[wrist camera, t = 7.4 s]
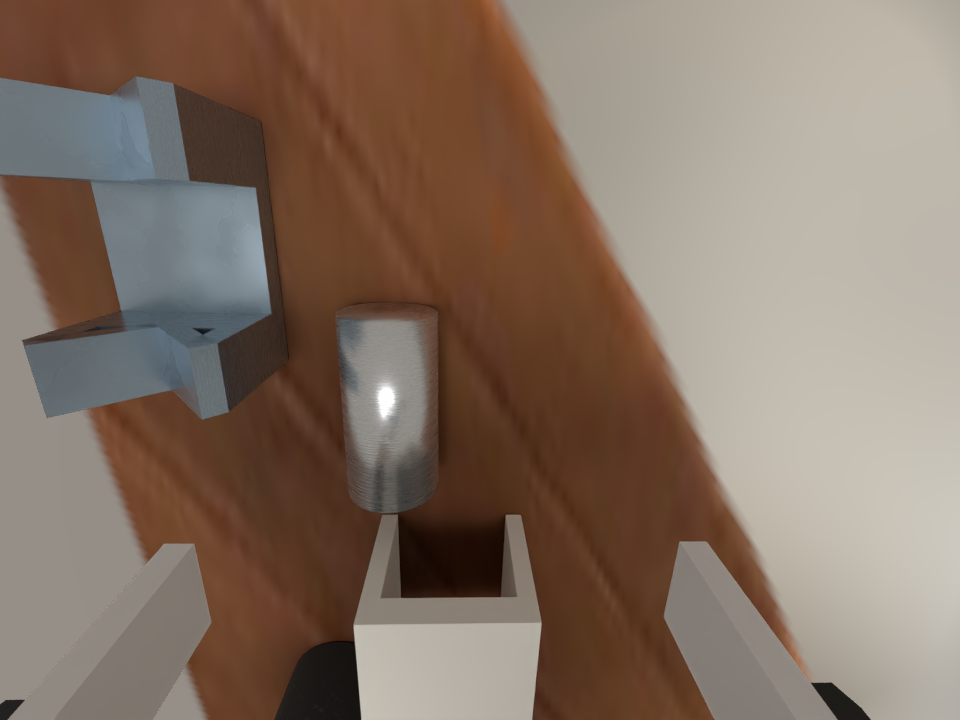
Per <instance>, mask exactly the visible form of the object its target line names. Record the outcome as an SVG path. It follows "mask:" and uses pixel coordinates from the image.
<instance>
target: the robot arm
mask: <svg viewBox="0 0 960 720" xmlns="http://www.w3.org/2000/svg"><path fill="white" fill-rule="evenodd" d="M664 619H665V621H666V623H667V625H668V627H669V629H670V631H671V633H672V635H673V637H674V639H675V641H676V643H677V645H678V647H679V649H680V651H681V653H682V655H683V657H684V659H685V661H686V663H687V665H688V668H689V670H690V672H691V674H692V676H693V678H694V680H695V682H696V684H697V686H698V688H699V690H700V692H701V694H702V696H703V698H704V700H705V702H706V704H707V706H708V708H709V710H710V712H711V714H712V716H713V718H714V720H870V718H869V717H868V716H867V715H866V713H865V712H864V711H863V710H862V708H861V707H859V706H858V705H857V704H856V703H855V702H854V701H852V700H851V699H850V698H849V697H848V696H846V695H845V694H844V693H843V692H842V691H841V690H839V689H838V688H837V687H836V686H835V685H834V684H833V683H810V682H809V680H808V679H807V677H806V676H805V675H804V673H803V672H802V671H801V669H800V668H799V667H798V665H797V664H796V663H795V661H794V660H793V658H792V657H791V656H790V654H789V653H788V652H787V650H786V649H785V648H784V646H783V645H782V643H781V642H780V641H779V639H778V638H777V637H776V635H775V634H774V633H773V631H772V630H771V629H770V627H769V626H768V624H767V623H766V622H765V620H764V619H763V618H762V616H761V615H760V614H759V612H758V611H757V610H756V608H755V607H754V605H753V604H752V603H751V601H750V600H749V599H748V597H747V596H746V595H745V593H744V592H743V591H742V589H741V588H740V586H739V585H738V584H737V582H736V581H735V580H734V578H733V577H732V576H731V574H730V573H729V571H728V570H727V569H726V567H725V566H724V565H723V563H722V562H721V561H720V559H719V558H718V557H717V555H716V554H715V552H714V551H713V550H712V548H711V547H710V546H709V544H708V543H707V542H679V547H678V552H677V556H676V561H675V566H674V570H673V575H672V580H671V584H670V589H669V594H668V598H667V603H666V608H665V613H664ZM210 624H211V618H210V614H209V609H208V605H207V600H206V596H205V591H204V587H203V582H202V577H201V573H200V568H199V564H198V559H197V555H196V550H195V546H194V544H164V545H163V546H162V547H161V548H160V549H159V550H158V551H157V553H156V554H155V555H154V556H153V557H152V558H151V559H150V560H149V562H148V563H147V564H146V565H145V566H144V567H143V568H142V569H141V571H140V572H139V573H138V574H137V575H136V576H135V577H134V578H133V580H132V581H131V582H130V583H129V584H128V585H127V586H126V587H125V588H124V590H123V591H122V592H121V593H120V594H119V595H118V596H117V597H116V599H115V600H114V601H113V602H112V603H111V604H110V606H108V608H107V609H106V610H105V611H104V612H103V613H102V614H101V615H100V617H99V618H98V619H97V620H96V621H95V622H94V623H93V624H92V626H91V627H90V628H89V629H88V630H87V631H86V632H85V633H84V634H83V636H82V637H81V638H80V639H79V640H78V641H77V642H76V643H75V645H74V646H73V647H72V648H71V649H70V650H69V651H68V652H67V654H66V655H65V656H64V657H63V658H62V659H61V660H60V661H59V663H58V664H57V665H56V666H55V667H54V668H53V669H52V671H51V672H50V673H49V674H48V675H47V676H46V677H45V678H44V680H43V681H42V682H41V683H40V684H39V685H38V686H37V687H36V688H35V689H34V691H33V692H32V693H31V694H30V695H29V696H28V697H27V698H26V700H5V701H4V702H3V703H1V704H0V720H153V718H154V716H155V715H156V713H157V711H158V710H159V708H160V706H161V705H162V703H163V702H164V700H165V698H166V697H167V695H168V693H169V692H170V690H171V688H172V687H173V685H174V683H175V682H176V680H177V679H178V677H179V675H180V674H181V672H182V670H183V669H184V667H185V665H186V664H187V662H188V660H189V659H190V657H191V655H192V654H193V652H194V651H195V649H196V647H197V646H198V644H199V642H200V641H201V639H202V637H203V636H204V634H205V632H206V631H207V629H208V627H209V626H210Z"/></svg>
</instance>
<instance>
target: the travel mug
mask: <svg viewBox="0 0 960 720" xmlns="http://www.w3.org/2000/svg"><path fill="white" fill-rule="evenodd" d="M274 720H361V708H360V696H359V684H358V672H357V660H356V648H355V643H350V642H331V643H326V644H322V645H319V646H317V647H315V648H313V649H311V650H309V651H308V652H307V653H306V654H305V655H303V656H302V658H301V659H300V660H299V662H298V664H297V665H296V668H295V670H294V672H293V674H292V677H291V679H290V682H289V684H288V687H287V689H286V692H285V694H284V697H283V699H282V702H281V704H280V707H279V709H278V712H277V714H276V717H275V719H274Z"/></svg>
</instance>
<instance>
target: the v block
mask: <svg viewBox="0 0 960 720" xmlns="http://www.w3.org/2000/svg"><path fill="white" fill-rule="evenodd" d="M0 176H11V177H24V178H38V179H52V180H66V181H80V182H91V185H92V189H93V193H94V197H95V202H96V206H97V210H98V214H99V219H100V223H101V227H102V231H103V235H104V240H105V244H106V248H107V252H108V257H109V261H110V265H111V269H112V273H113V278H114V282H115V286H116V290H117V295H118V299H119V303H120V307H121V311H118V312H115V313H112V314H108V315H105V316H102V317H98V318H95V319H92V320H88V321H85V322H81V323H78V324H75V325H71V326H68V327H65V328H61V329H58V330H55V331H51V332H48V333H45V334H41V335H38V336H35V337H31V338H28V339H25V340H22V342H23V345H24V348H25V351H26V354H27V358H28V361H29V364H30V367H31V370H32V373H33V377H34V379H35V383H36V386H37V389H38V392H39V395H40V399H41V402H42V405H43V408H44V411H45V414H46V417H47V418H49V417H54V416H58V415H63V414H67V413H71V412H76V411H80V410H85V409H89V408H93V407H98V406H102V405H107V404H111V403H116V402H120V401H124V400H129V399H133V398H138V397H142V396H146V395H151V394H155V393H160V392H164V391H168V390H172V391H173V392H174V393H176V394H177V395H178V396H179V397H180V398H181V399H182V400H183V401H184V402H185V403H186V404H187V405H188V406H189V407H190V408H191V409H192V410H193V411H194V412H195V413H196V414H197V415H198V416H199V417H200V418H201V419H206V418H209V417H213V416H216V415H220V414H224V413H227V412H229V411H230V410H232V409H233V408H234V407H235V406H236V405H237V404H238V403H240V402H241V401H242V400H243V399H244V398H245V397H247V396H248V395H249V394H250V393H251V392H252V391H253V390H255V389H256V388H257V387H258V386H259V385H260V384H261V383H263V382H264V381H265V380H266V379H267V378H268V377H270V376H271V375H272V374H273V373H274V372H275V371H276V370H278V369H279V368H280V367H281V366H282V365H283V364H284V363H286V362H287V361H288V360H289V357H288V349H287V340H286V331H285V323H284V314H283V306H282V297H281V288H280V280H279V271H278V263H277V254H276V245H275V237H274V228H273V220H272V211H271V203H270V194H269V185H268V177H267V168H266V160H265V151H264V142H263V134H262V125H261V121H258V120H256V119H254V118H251V117H249V116H247V115H245V114H242V113H240V112H238V111H235V110H233V109H231V108H228V107H226V106H224V105H221V104H219V103H217V102H215V101H212V100H210V99H208V98H205V97H203V96H201V95H198V94H196V93H194V92H192V91H189V90H187V89H185V88H182V87H180V86H178V85H175V84H173V83H168V82H163V81H158V80H153V79H147V78H142V77H137V76H136V77H135V78H133V79H132V80H130V81H129V82H128V83H126V84H125V85H123V86H122V87H121V88H119V89H118V90H116V91H115V92H114V93H112V94H111V95H104V94H97V93H91V92H85V91H79V90H72V89H66V88H60V87H54V86H47V85H41V84H35V83H28V82H22V81H16V80H10V79H3V78H0Z"/></svg>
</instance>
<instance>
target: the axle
mask: <svg viewBox="0 0 960 720" xmlns="http://www.w3.org/2000/svg"><path fill="white" fill-rule="evenodd" d="M335 325H336V338H337V351H338V363H339V376H340V389H341V402H342V415H343V427H344V440H345V453H346V466H347V479H348V492H349V496H350V498H351V500H352V501H353V502H354V503H355V504H356V505H357V506H359V507H361V508H363V509H365V510H368V511H372V512H377V513H397V512H403V511H407V510H411V509H413V508H416V507H418V506H420V505H422V504H424V503H425V502H427V501H428V500H429V499H430V498H431V497H433V495H434V494H435V492H436V491H437V488H438V311H437V310H436V309H434V308H432V307H429V306H425V305H421V304H414V303H388V302H377V303H365V304H357V305H352V306H348V307H344V308H341V309H339V310H337V311H336V312H335Z"/></svg>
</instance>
